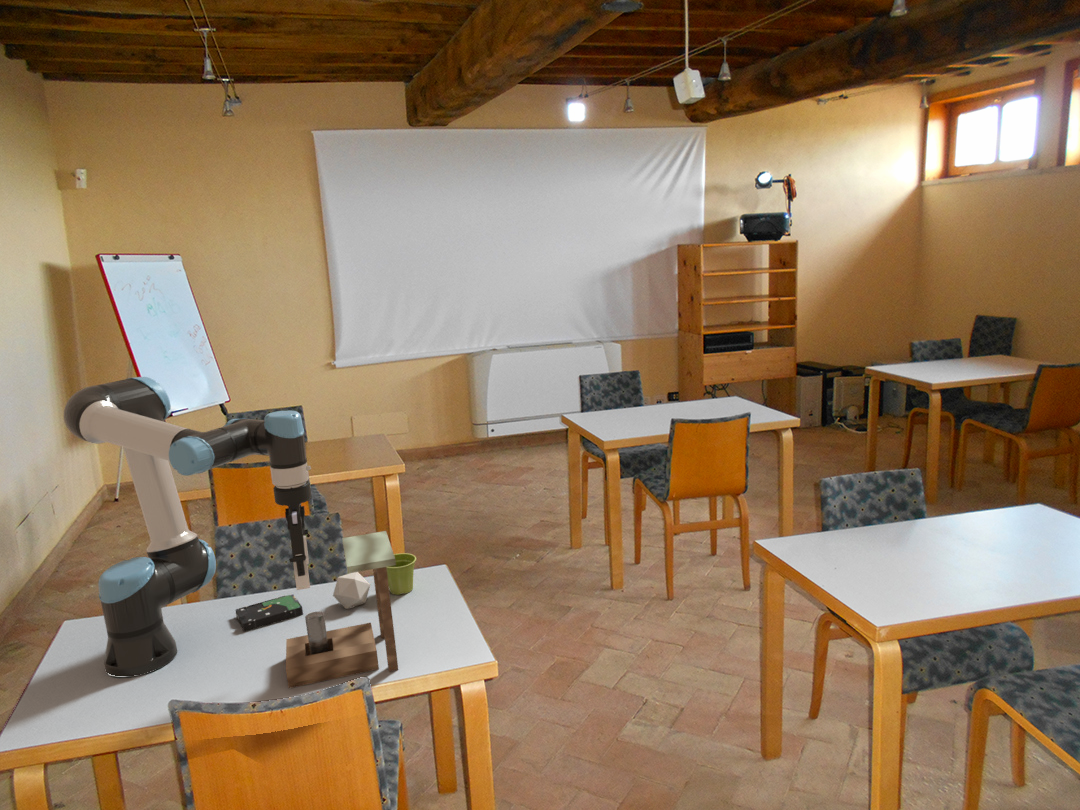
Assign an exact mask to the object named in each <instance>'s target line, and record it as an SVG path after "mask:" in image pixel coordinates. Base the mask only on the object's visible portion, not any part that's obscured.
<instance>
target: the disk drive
mask: <svg viewBox="0 0 1080 810" xmlns="http://www.w3.org/2000/svg"><path fill="white" fill-rule="evenodd" d="M235 616H236V619H237V621H238V623H239V625H240V628H241V629H242V631H243V632H244V633H246V632H248V631H253V630H256V629H258V628H262V627H266V626H270V625H273V624H276V623H280V622H283V621H287V620H290V619H293V618H297V617H300V616H304V610H303V606H302V604H301V603H300V602H299V600H298V599H297V597H296V596H295V595H294V593H293V594H287V595H283V596H279V597H276V598H271V599H268V600H264V601H261V602H257V603H253V604H250V605H246V606H243V607H242V606H241V607H239V608H236V609H235Z"/></svg>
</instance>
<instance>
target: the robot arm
mask: <svg viewBox="0 0 1080 810" xmlns="http://www.w3.org/2000/svg"><path fill="white" fill-rule="evenodd" d="M171 407H172V406H171V400H170V398H169V395H168V393H167V391H166V390H165V388H164V387H163V386H162V384H160V383H159V382H157V381H156V380H155V379H153V378H151V377H149V376H148V377H147V376H137V377H127V378H124V379H120V380H115V381H110V382H105V383H102V384H97V385H91V386H87V387H83V388H82V389H80V390H78V391H76V392H75V393H74V394H72V395H71V396H70V398H69V399H68V400H67V401H66V404H65V406H64V408H63V409H64V410H63V421H64V424H65V426H66V428H67V430H69V432H70V433H71V434H72V435H73V436H75V437H76V438H78V439H81V440H82V441H85V442H88V443H92V444H98V445H100V444H103V443H104V444H105V443H109V444H112V445H115V446H118V447H122V449H123V452H124V455H125V460H126V462H127V466H128V469H129V472H130V476H131V480H132V482H133V485H134V490H135V493H136V495H137V499H138V503H139V506H140V509H141V512H142V516H143V519H144V522H145V526H146V530H147V533H148V535H149V539H150V543H149V545H148V546H147V548H146V555H147V556H136V557H131V558H130V559H124V560H122V561H119V562H117V563H115V564H113V565H112V566H109V567H108V568H106V570H104V571H103V572H102V573H101V574H100V576H99V580H98V584H97V586H98V587H97V588H98V598H99V601H100V603H101V608H102V613H103V618H104V623H105V624H104V625H105V629H106V634H107V642H106V648H105V654H104V659H103V666H104V671H105V670H106V671H105V673H106V672H107V673H109V674H111V675H115V676H134V675H139V676H141V675H140V674H143V675H145V674H144V673H146V674H148V673H147V672H149V673H151V672H150V671H152V672H154V671H156V670H155V669H157V670H159V669H161V668H163V667H164V666H166V665H168V664H169V663H170V662H172V661H173V660H174V659H175V658H176V656H177V654H178V646H177V643H176V640H175V638H174V637H173V635H172V634H171V632H170V630H169V629H168V627H167V625H166V623H165V622H164V616H163V612H162V609H163V608H164V607H166V606H168V605H170V604H173V603H174V602H176V601H178V600H181V599H182V598H184V597H186V596H189V595H190V594H193V593H196V592H197V591H199V590H200V589H202V588H203V587H205V586H207V585H208V584H209V583H211V581H212V580H213V577H214V576H215V574H216V570H217V569H216V567H217V562H216V556H215V553H214V550H213V549H212V547H211V546H209V543H208V542H206V541H205V540H203V539H200V538H199V536H198V533H197V532H196V533H195V532H194V531H191V530H190V529H189V526H188V523H187V520H186V517H185V516H186V515H185V512H184V509H183V506H182V502H181V500H180V495H179V492H178V490H177V485H176V482H175V478H174V476H173V471H172V468H173V470H176V471H177V473H178V474H180V475H181V476H187V477H189V476H193V475H196V474H197V475H199V474H204V473H205V472H207V471H209V470H212V469H215V468H218V467H220V466H223V465H225V464H229V463H232V462H234V461H238V460H240V459H243V458H246V457H248V456H252V455H256V456H268V458H269V469H270V476H271V483H272V485H273V486H274V487H273V489H272V490H273V495H274V497H273V498H274V503H275V504H277V505H279V506H281V507H283V506H287V508H285V512H284V513H285V519H286V522H287V523H286V525H287V531H288V532H289V534H290V535H289V536H290V545H291V554H292V555H291V556H292V557H291V558H289V563H293V564H292V565H293V571H294V572H293V573H294V579H295V580H294V581H295V587H296V591H300V590H306V589H310V588H311V584H310V576H309V568H308V567H309V566H308V565H309V564H310V562H309V561H310V559H309V553H308V550H309V549H308V544H307V536H306V535H309V530H308V529H306V525H305V518H306V511H305V510H306V509H305V505H302V504H304V503H307V502H308V501H310V500H311V498H312V489H311V482H309V479H310V476H309V471H310V470H312V467H311V465H308V457H307V451H306V450H307V449H306V441H305V429H304V425H303V420H302V415H301V413H300V412H299V411H296V410H277V411H273V412H269V413H267V414H266V415H264V419H253V418H247V417H242V418H232V419H230V420H228V421H227V422H226V423H225V424H223V426H222V427H217V428H214V429H211V430H207V431H199V430H195V429H191V428H187V427H183V426H180V425H176V424H173V423H170V422H166V421H165V420H167V419H168V417H169V416H170V414H171ZM171 467H172V468H171ZM167 663H168V664H167ZM162 666H163V667H162ZM160 667H161V668H160ZM158 668H159V669H158ZM153 670H154V671H153ZM107 673H106V674H107ZM134 677H135V676H134Z"/></svg>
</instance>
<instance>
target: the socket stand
mask: <svg viewBox="0 0 1080 810" xmlns="http://www.w3.org/2000/svg"><path fill="white" fill-rule="evenodd" d="M341 540H342V545H343V546H342V547H343V553H344V557H345V564H346V565H345V566H346V571H347V574H349V573H354V572H358V573H359V572H365V571H369V570H372V573H373V581H374V589H375V590H374V591H375V598H376V607H377V608H376V609H377V614H378V615H377V616H378V622H379V632H380V633H379V634H380V638H381V639H384V643H385V652H386V659H387V667H388V671H390V672H393V671H398V670H399V663H398V656H397V655H398V654H397V653H398V652H397V646H396V637H395V636H396V635H395V630H394V629H395V628H394V620H393V619H394V618H393V613H392V612H393V611H392V604H391V602H392V601H391V592H390V589H389V584H388V576H387V567H388V566H393V565H396V561H395V556H394V554H395V553H394V551H393V548H392V544H391V542H390V541H391V540H390V539H389V536H388V533H387V530H383V531H378V532H371V533H366V534H359V535H353V536H347V537H342V538H341ZM326 633H327V640H328V647H329V651H328V652H324V653H319V654H314V655H310V648H309V641H308V634H306V635H302V636H295V637H290V638H286V644H285V645H286V647H285V648H286V649H285V651H286V653H285V673H286V678H287V679H286V680H287V686H288V689H293V688H296V687H297V688H298V687H303V686H306V685H307V686H308V685H310V684H316V683H320V682H321V683H322V682H326V681H331V680H336V679H340V678H344V677H348V676H353V675H357V674H363V673H367V672H372V671H376V670H379V669H380V666H379V661H378V660H379V657H378V650H377V646H376V645H377V644H376V640H375V636H374V631H373V627H372V622H367V623H361V624H356V625H352V626H346V627H342V628H337V629H332V630H326Z"/></svg>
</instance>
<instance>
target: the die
mask: <svg viewBox="0 0 1080 810" xmlns="http://www.w3.org/2000/svg"><path fill="white" fill-rule="evenodd" d="M370 587H371V584H370V583H369V582H368V581H367V580H366V579H365V578H364V576H363V575H362V574H360V573H359V572H354V573H349V574H348V573H347V574H343V575H340V576H338V577H337V580H336V583H335V587H334V591H333V595H332V597H334V598H335V599H336V601H337V602H339V604H340V605H342V607H343V608H344V609H346V610H348V609H352V608H354V607H358V606H361V605H364V604H366V601H367V598H368V595H369V591H370Z"/></svg>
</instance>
